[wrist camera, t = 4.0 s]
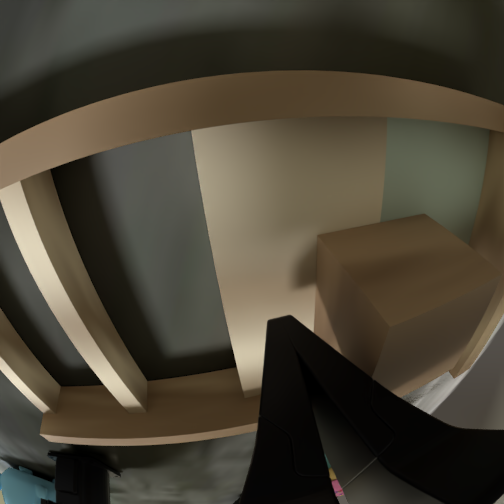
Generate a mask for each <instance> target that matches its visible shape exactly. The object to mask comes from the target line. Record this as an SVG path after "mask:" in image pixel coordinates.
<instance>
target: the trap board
mask: <svg viewBox="0 0 504 504" xmlns="http://www.w3.org/2000/svg"><path fill="white" fill-rule="evenodd" d="M186 131H191V132H192V139H193V145H194V152H195V158H196V164H197V170H198V176H199V182H200V188H201V194H202V200H203V205H204V211H205V217H206V222H207V227H208V233H209V238H210V243H211V248H212V254H213V259H214V264H215V269H216V274H217V279H218V283H219V288H220V293H221V298H222V302H223V307H224V312H225V316H226V321H227V325H228V330H229V334H230V339H231V343H232V348H233V352H234V356H235V360H236V365H237V367H235V368H230V369H224V370H219V371H214V372H208V373H202V374H196V375H190V376H183V377H177V378H169V379H162V380H154V381H147V380H146V378H145V377H144V375H143V374H142V372H141V371H140V369H139V368H138V366H137V364H136V363H135V361H134V360H133V358H132V356H131V355H130V353H129V351H128V350H127V348H126V346H125V345H124V343H123V341H122V339H121V338H120V336H119V334H118V332H117V331H116V329H115V327H114V325H113V323H112V322H111V320H110V318H109V316H108V314H107V312H106V310H105V308H104V306H103V304H102V302H101V300H100V298H99V296H98V294H97V292H96V290H95V288H94V286H93V284H92V282H91V280H90V277H89V275H88V273H87V271H86V269H85V266H84V264H83V262H82V259H81V257H80V255H79V252H78V250H77V247H76V245H75V242H74V240H73V237H72V235H71V232H70V229H69V227H68V224H67V221H66V218H65V216H64V213H63V210H62V207H61V204H60V201H59V198H58V195H57V191H56V188H55V185H54V182H53V178H52V175H51V171H50V169H51V168H54V167H56V166H59V165H62V164H65V163H68V162H71V161H74V160H77V159H80V158H83V157H86V156H89V155H92V154H96V153H99V152H102V151H106V150H109V149H113V148H116V147H120V146H124V145H128V144H132V143H136V142H140V141H144V140H148V139H152V138H157V137H161V136H166V135H171V134H176V133H181V132H186ZM0 200H1V203H2V206H3V209H4V211H5V214H6V217H7V220H8V222H9V225H10V227H11V230H12V232H13V235H14V237H15V239H16V242H17V244H18V246H19V248H20V251H21V253H22V255H23V257H24V259H25V261H26V264H27V266H28V268H29V270H30V272H31V274H32V276H33V278H34V279H35V281H36V283H37V285H38V287H39V289H40V291H41V292H42V294H43V296H44V298H45V300H46V301H47V303H48V305H49V307H50V308H51V310H52V312H53V313H54V315H55V316H56V318H57V320H58V321H59V323H60V324H61V326H62V328H63V329H64V331H65V332H66V334H67V335H68V337H69V338H70V340H71V341H72V343H73V344H74V345H75V347H76V348H77V350H78V351H79V353H80V354H81V355H82V357H83V358H84V359H85V361H86V362H87V363H88V365H89V366H90V367H91V369H92V370H93V371H94V373H95V374H96V375H97V376H98V378H99V379H100V380H101V381H102V383H103V384H104V385H96V386H70V387H61V386H60V385H59V384H58V383H57V382H56V381H55V380H54V379H53V377H52V376H51V375H50V374H49V373H48V372H47V371H46V369H45V368H44V367H43V366H42V365H41V363H40V362H39V361H38V360H37V358H36V357H35V356H34V355H33V353H32V352H31V351H30V350H29V348H28V347H27V346H26V344H25V343H24V342H23V340H22V339H21V338H20V336H19V335H18V333H17V332H16V331H15V329H14V328H13V326H12V325H11V323H10V322H9V320H8V319H7V317H6V316H5V314H4V313H3V311H2V310H1V308H0V370H1V371H2V372H3V373H4V374H5V375H6V377H7V378H8V379H9V380H10V381H11V382H12V383H13V384H14V385H15V386H16V387H17V388H18V389H19V390H20V391H21V392H22V393H23V394H24V395H25V396H26V397H27V398H28V399H29V400H30V401H31V402H32V403H33V404H34V405H35V406H36V407H37V408H39V409H40V410H41V411H42V412H43V418H42V424H41V430H40V435H42V436H43V437H44V438H46V439H47V440H49V441H50V442H59V443H69V444H81V445H102V446H138V445H159V444H172V443H183V442H192V441H200V440H207V439H214V438H221V437H227V436H232V435H238V434H243V433H248V432H253V431H257V426H258V417H259V407H260V396H261V386H262V375H263V363H264V352H265V340H266V328H267V321H268V320H269V319H273V318H277V317H281V316H285V315H292V316H293V317H295V318H296V319H297V320H298V321H300V322H301V323H302V324H303V325H305V326H306V327H307V328H309V329H310V330H311V331H312V332H314V315H315V295H316V266H317V235H320V234H325V233H330V232H335V231H340V230H345V229H350V228H355V227H360V226H365V225H370V224H375V223H380V222H385V221H390V220H395V219H400V218H405V217H410V216H415V215H420V214H426V215H428V216H429V217H430V218H432V219H433V220H435V221H436V222H438V223H439V224H440V225H442V226H443V227H445V228H446V229H447V230H449V231H450V232H451V233H453V234H454V235H455V236H457V237H458V238H459V239H461V240H462V241H463V242H465V243H466V244H467V245H469V246H470V247H471V248H472V249H474V250H475V251H476V252H477V253H479V254H480V255H481V256H482V257H483V258H485V259H486V260H487V261H488V262H489V263H491V264H492V265H493V266H494V267H495V268H497V269H498V270H499V271H500V272H501V273H502V276H501V279H500V281H499V283H498V286H497V288H496V290H495V293H494V295H493V297H492V299H491V301H490V304H489V306H488V308H487V310H486V312H485V314H484V316H483V318H482V320H481V322H480V324H479V325H478V327H477V329H476V331H475V333H474V335H473V336H472V338H471V340H470V342H469V344H468V345H467V347H466V349H465V350H464V352H463V354H462V355H461V357H460V358H459V360H458V362H457V363H456V365H455V366H454V368H452V369H451V370H449V372H450V374H451V375H452V377H453V378H456V377H457V376H459V375H460V374H462V373H463V372H465V371H466V370H468V369H469V368H470V367H471V365H472V364H473V363H474V361H475V360H476V358H477V357H478V355H479V354H480V352H481V351H482V349H483V347H484V346H485V344H486V343H487V341H488V339H489V338H490V336H491V334H492V333H493V331H494V329H495V328H496V326H497V324H498V322H499V321H500V319H501V317H502V315H503V313H504V105H502V104H499V103H496V102H493V101H490V100H487V99H484V98H481V97H478V96H475V95H472V94H468V93H465V92H461V91H458V90H454V89H450V88H446V87H442V86H437V85H433V84H428V83H424V82H419V81H413V80H408V79H402V78H395V77H389V76H381V75H373V74H364V73H353V72H338V71H313V70H287V71H261V72H247V73H235V74H226V75H217V76H210V77H203V78H196V79H190V80H184V81H178V82H173V83H168V84H163V85H159V86H154V87H150V88H145V89H141V90H137V91H133V92H129V93H126V94H122V95H119V96H115V97H112V98H108V99H105V100H102V101H99V102H96V103H93V104H90V105H87V106H84V107H81V108H78V109H75V110H73V111H70V112H67V113H65V114H62V115H60V116H57V117H55V118H52V119H50V120H48V121H45V122H43V123H41V124H38V125H36V126H34V127H32V128H30V129H28V130H25V131H23V132H21V133H19V134H17V135H15V136H13V137H11V138H9V139H7V140H6V141H4V142H2V143H0Z"/></svg>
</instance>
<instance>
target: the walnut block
mask: <svg viewBox="0 0 504 504" xmlns="http://www.w3.org/2000/svg"><path fill="white" fill-rule="evenodd" d="M501 276H502V273H501V272H500V271H499V270H498V269H497V268H495V267H494V266H493V265H492V264H491V263H489V262H488V261H487V260H486V259H485V258H483V257H482V256H481V255H480V254H479V253H477V252H476V251H475V250H474V249H472V248H471V247H470V246H469V245H467V244H466V243H465V242H463V241H462V240H461V239H459V238H458V237H457V236H455V235H454V234H453V233H451V232H450V231H449V230H447V229H446V228H445V227H443V226H442V225H440V224H439V223H438V222H436V221H435V220H433V219H432V218H430V217H429V216H428V215H426V214H420V215H415V216H410V217H405V218H400V219H395V220H390V221H385V222H380V223H375V224H370V225H365V226H360V227H355V228H350V229H345V230H340V231H335V232H330V233H325V234H320V235H317V266H316V295H315V315H314V333H315V334H316V335H317V336H319V337H320V338H321V339H323V340H324V341H325V342H326V343H328V344H329V345H330V346H331V347H333V348H334V349H335V350H337V351H338V352H339V353H341V354H342V355H343V356H344V357H346V358H347V359H348V360H350V361H351V362H352V363H353V364H355V365H356V366H357V367H359V368H360V369H361V370H363V371H364V372H365V373H367V374H368V375H369V376H370V377H372V378H373V380H376V381H377V382H379V383H380V384H381V385H382V386H384V387H385V388H387V389H388V390H389V391H391V392H392V393H394V394H395V395H397V396H398V397H402V396H404V395H406V394H408V393H410V392H412V391H414V390H416V389H418V388H420V387H421V386H423V385H425V384H427V383H429V382H430V381H432V380H434V379H436V378H437V377H439V376H441V375H443V374H444V373H446V372H448V371H449V370H451V369H452V368H454V366H455V365H456V363H457V362H458V360H459V358H460V357H461V355H462V354H463V352H464V350H465V349H466V347H467V345H468V344H469V342H470V340H471V338H472V336H473V335H474V333H475V331H476V329H477V327H478V325H479V324H480V322H481V320H482V318H483V316H484V314H485V312H486V310H487V308H488V306H489V304H490V301H491V299H492V297H493V295H494V293H495V290H496V288H497V286H498V283H499V281H500V279H501Z"/></svg>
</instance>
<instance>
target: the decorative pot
mask: <svg viewBox="0 0 504 504" xmlns="http://www.w3.org/2000/svg"><path fill="white" fill-rule="evenodd" d="M19 469H20V471H19V470H17V469H14V468H8V469H6V470H5V471H4V472H3V473H2V474H1V473H0V490H1V488H2V494H3V498H4V501H5V504H41V498H42V499H46V500H51V501H53V502H55V503H56V490H55V488H54V487H55V479H53V481H52V482H50V481H47V480H44V479H42V478H39V477H36V476H33V472H32V471H31V470H29V469H27V468H24V467H22V466H19Z"/></svg>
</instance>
